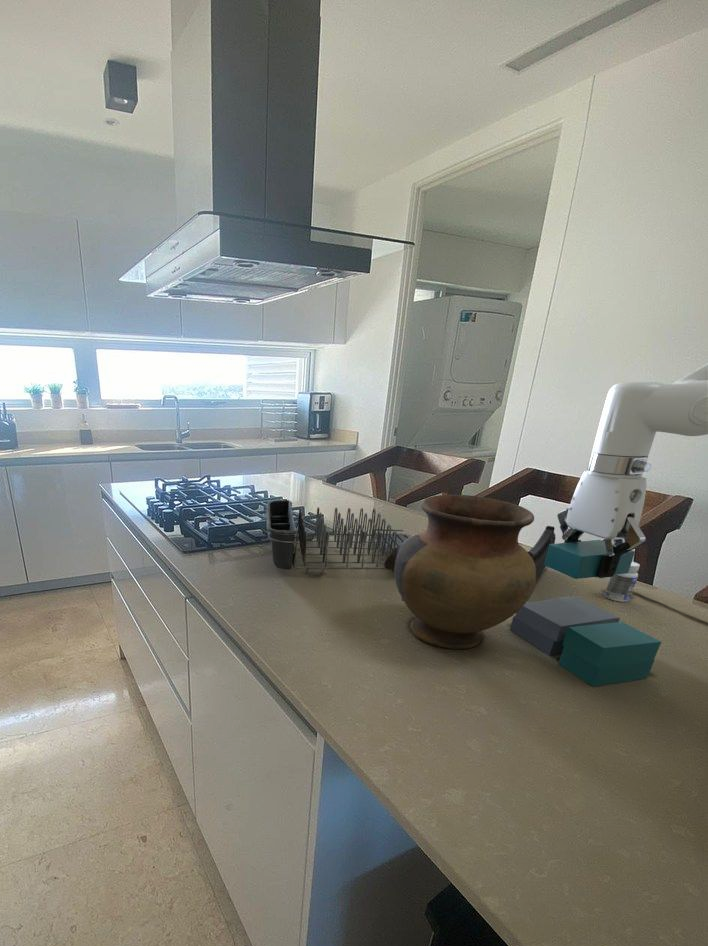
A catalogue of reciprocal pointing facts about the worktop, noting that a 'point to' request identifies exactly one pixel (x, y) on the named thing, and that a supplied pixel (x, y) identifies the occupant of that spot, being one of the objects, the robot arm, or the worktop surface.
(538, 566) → the magazine
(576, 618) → the grey stack
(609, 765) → the worktop surface
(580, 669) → the teal stack
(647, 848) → the worktop surface
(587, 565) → the teal block
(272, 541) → the dish rack
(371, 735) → the worktop surface
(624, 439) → the robot arm
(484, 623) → the pot
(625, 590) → the pill bottle
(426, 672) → the worktop surface
